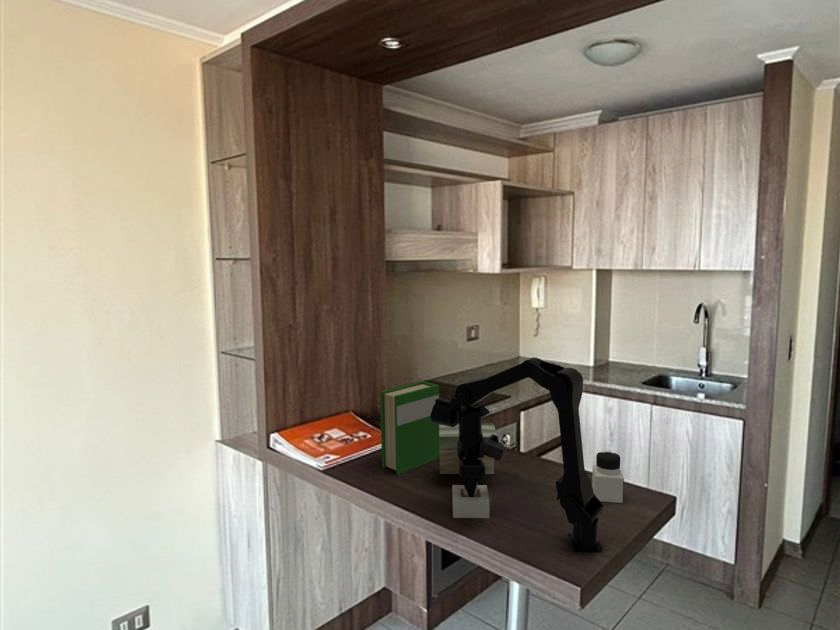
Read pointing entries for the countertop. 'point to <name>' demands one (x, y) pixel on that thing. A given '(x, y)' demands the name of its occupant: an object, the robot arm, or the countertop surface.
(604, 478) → the medicine bottle
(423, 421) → the hardback book
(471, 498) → the socket block
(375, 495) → the countertop surface
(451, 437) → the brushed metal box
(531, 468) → the countertop surface
